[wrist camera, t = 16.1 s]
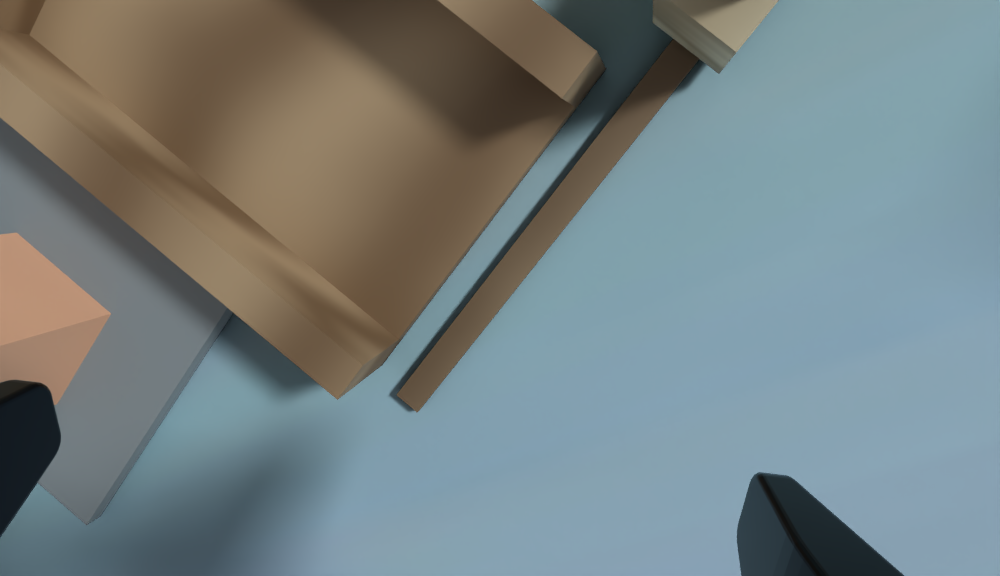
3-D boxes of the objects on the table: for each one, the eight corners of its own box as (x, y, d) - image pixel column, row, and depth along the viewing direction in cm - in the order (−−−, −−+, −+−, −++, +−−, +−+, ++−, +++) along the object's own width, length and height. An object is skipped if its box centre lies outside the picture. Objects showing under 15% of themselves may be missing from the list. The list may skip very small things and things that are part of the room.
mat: (242, 299, 21) (230, 303, 20) (100, 516, 24) (86, 525, 23) (0, 97, 21) (-18, 95, 21) (-111, 333, 24) (-129, 337, 24)
